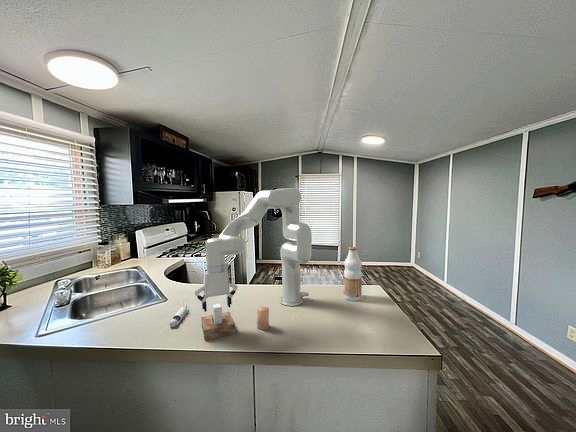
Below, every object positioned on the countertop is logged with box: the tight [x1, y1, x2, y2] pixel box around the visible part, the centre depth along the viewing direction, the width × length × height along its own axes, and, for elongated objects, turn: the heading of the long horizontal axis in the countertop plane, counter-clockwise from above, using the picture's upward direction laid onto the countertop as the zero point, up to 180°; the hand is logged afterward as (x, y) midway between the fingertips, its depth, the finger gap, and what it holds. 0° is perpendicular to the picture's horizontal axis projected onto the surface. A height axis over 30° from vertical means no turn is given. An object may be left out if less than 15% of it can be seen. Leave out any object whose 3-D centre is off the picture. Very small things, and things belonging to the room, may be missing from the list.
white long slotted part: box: [169, 300, 189, 328], centre depth 117 cm, size 18×5×7 cm, turn 3°
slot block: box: [201, 311, 236, 341], centre depth 107 cm, size 12×12×4 cm
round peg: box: [256, 306, 270, 331], centre depth 109 cm, size 5×5×8 cm
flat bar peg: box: [212, 303, 223, 325], centre depth 107 cm, size 3×5×10 cm, turn 23°
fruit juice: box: [343, 246, 363, 302], centre depth 138 cm, size 9×9×28 cm
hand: (217, 308), depth 107 cm, fingers open, 9 cm apart
